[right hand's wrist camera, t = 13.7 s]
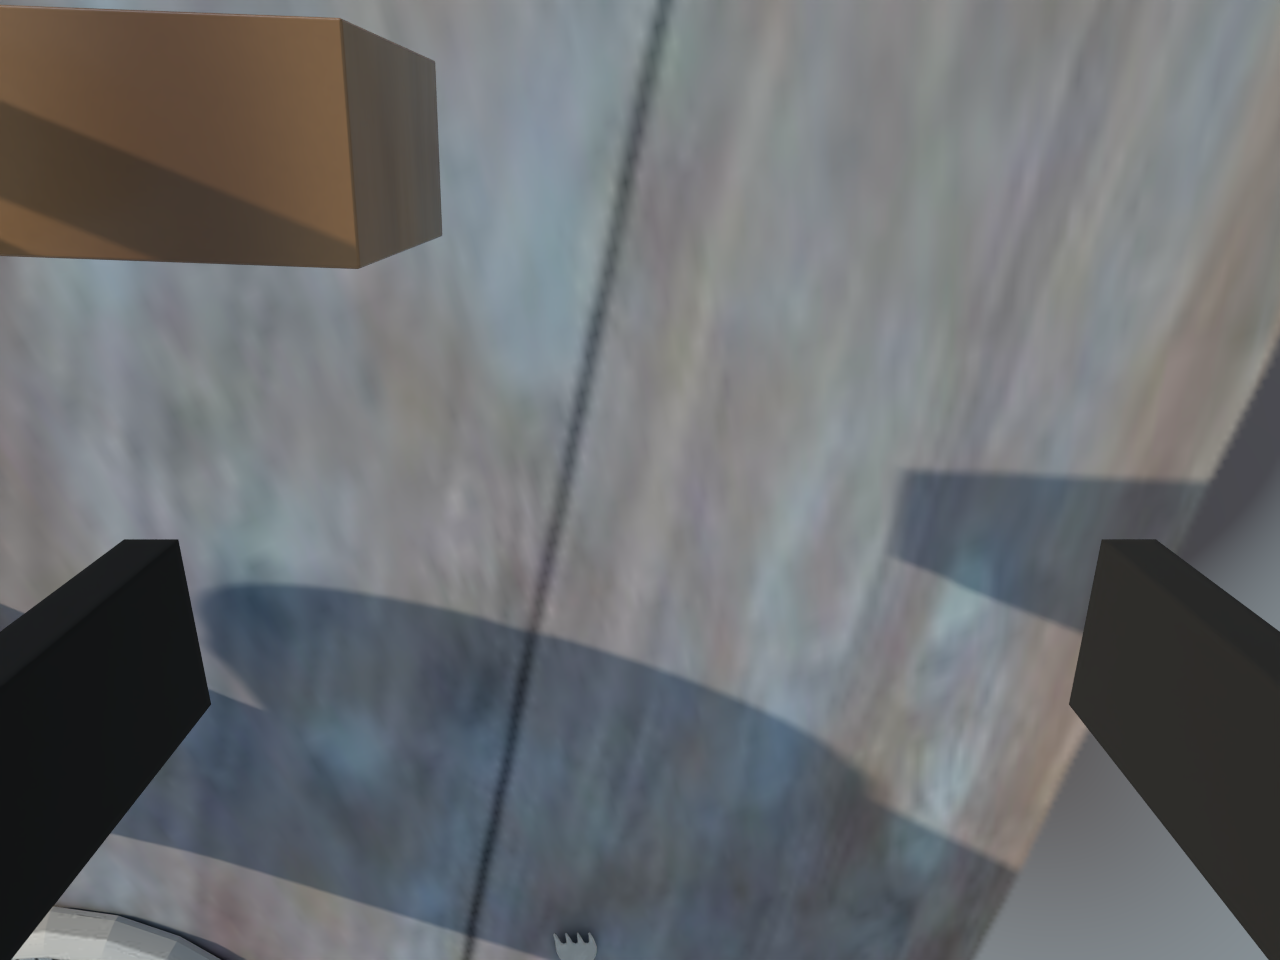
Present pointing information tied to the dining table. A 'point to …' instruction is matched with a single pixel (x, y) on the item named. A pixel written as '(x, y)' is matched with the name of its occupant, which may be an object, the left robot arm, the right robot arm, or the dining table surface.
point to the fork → (576, 948)
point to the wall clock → (103, 939)
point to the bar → (213, 139)
